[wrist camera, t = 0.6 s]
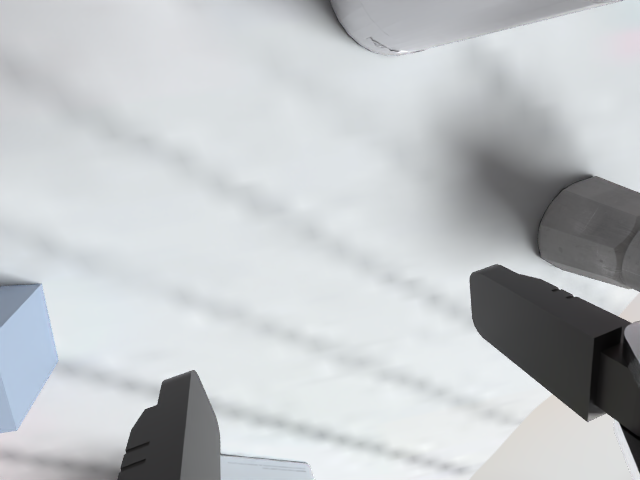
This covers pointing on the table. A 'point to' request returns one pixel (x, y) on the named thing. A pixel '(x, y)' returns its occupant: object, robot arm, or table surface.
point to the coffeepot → (594, 232)
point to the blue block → (23, 351)
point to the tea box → (263, 469)
